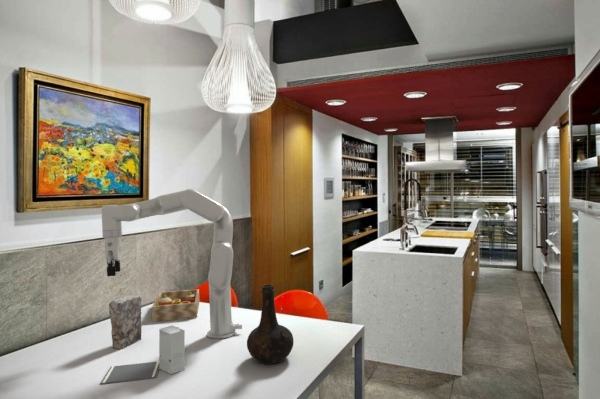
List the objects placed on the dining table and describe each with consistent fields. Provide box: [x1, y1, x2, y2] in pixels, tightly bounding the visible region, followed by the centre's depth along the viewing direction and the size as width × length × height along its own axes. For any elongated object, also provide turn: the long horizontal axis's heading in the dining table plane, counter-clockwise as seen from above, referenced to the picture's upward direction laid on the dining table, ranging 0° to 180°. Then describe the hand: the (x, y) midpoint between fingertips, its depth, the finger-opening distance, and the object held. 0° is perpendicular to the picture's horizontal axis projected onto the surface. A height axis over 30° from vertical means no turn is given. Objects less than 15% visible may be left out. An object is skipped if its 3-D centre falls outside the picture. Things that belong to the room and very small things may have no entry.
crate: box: [151, 288, 200, 323], centre depth 227 cm, size 22×32×8 cm
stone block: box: [108, 294, 143, 350], centre depth 178 cm, size 13×7×20 cm, turn 165°
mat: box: [100, 360, 160, 385], centre depth 148 cm, size 18×14×1 cm
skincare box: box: [158, 325, 186, 375], centre depth 150 cm, size 8×6×15 cm
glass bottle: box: [246, 284, 295, 365], centre depth 156 cm, size 18×18×28 cm
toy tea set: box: [156, 292, 196, 306], centre depth 227 cm, size 26×16×10 cm, turn 171°
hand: (114, 273), depth 176 cm, fingers open, 9 cm apart
